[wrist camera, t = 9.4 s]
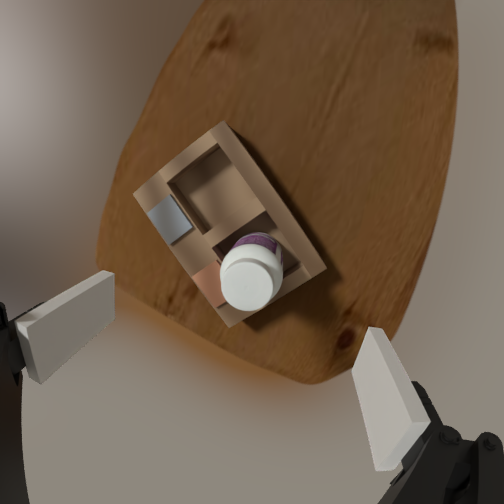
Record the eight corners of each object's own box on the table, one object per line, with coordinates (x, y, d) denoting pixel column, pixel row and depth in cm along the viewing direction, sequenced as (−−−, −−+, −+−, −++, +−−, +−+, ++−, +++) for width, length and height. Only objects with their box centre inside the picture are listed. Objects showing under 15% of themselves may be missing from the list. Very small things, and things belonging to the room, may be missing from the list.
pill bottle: (222, 250, 31) (197, 278, 22) (262, 221, 30) (252, 237, 21) (253, 289, 32) (240, 331, 23) (293, 262, 31) (296, 295, 21)
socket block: (230, 126, 29) (222, 119, 25) (322, 259, 31) (327, 269, 28) (147, 192, 32) (131, 194, 28) (234, 314, 34) (228, 329, 30)
